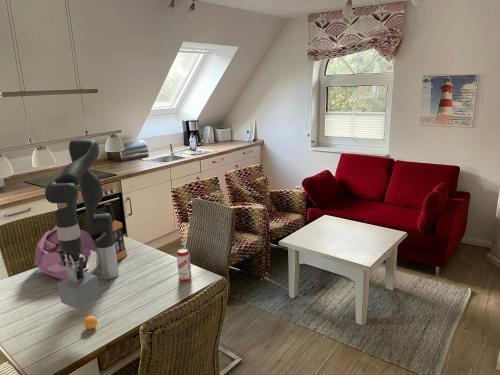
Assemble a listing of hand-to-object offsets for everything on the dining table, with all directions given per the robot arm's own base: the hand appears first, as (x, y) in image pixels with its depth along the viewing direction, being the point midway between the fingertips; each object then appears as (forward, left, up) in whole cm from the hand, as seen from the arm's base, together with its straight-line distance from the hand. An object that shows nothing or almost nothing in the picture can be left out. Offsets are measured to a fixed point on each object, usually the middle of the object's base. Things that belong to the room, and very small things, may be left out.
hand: (76, 277), depth 145 cm
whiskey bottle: (-42, +52, -24) cm, 71 cm away
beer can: (+10, +50, -24) cm, 57 cm away
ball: (0, +3, -22) cm, 22 cm away
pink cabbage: (-51, +29, -25) cm, 64 cm away
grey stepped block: (0, 0, -10) cm, 10 cm away
